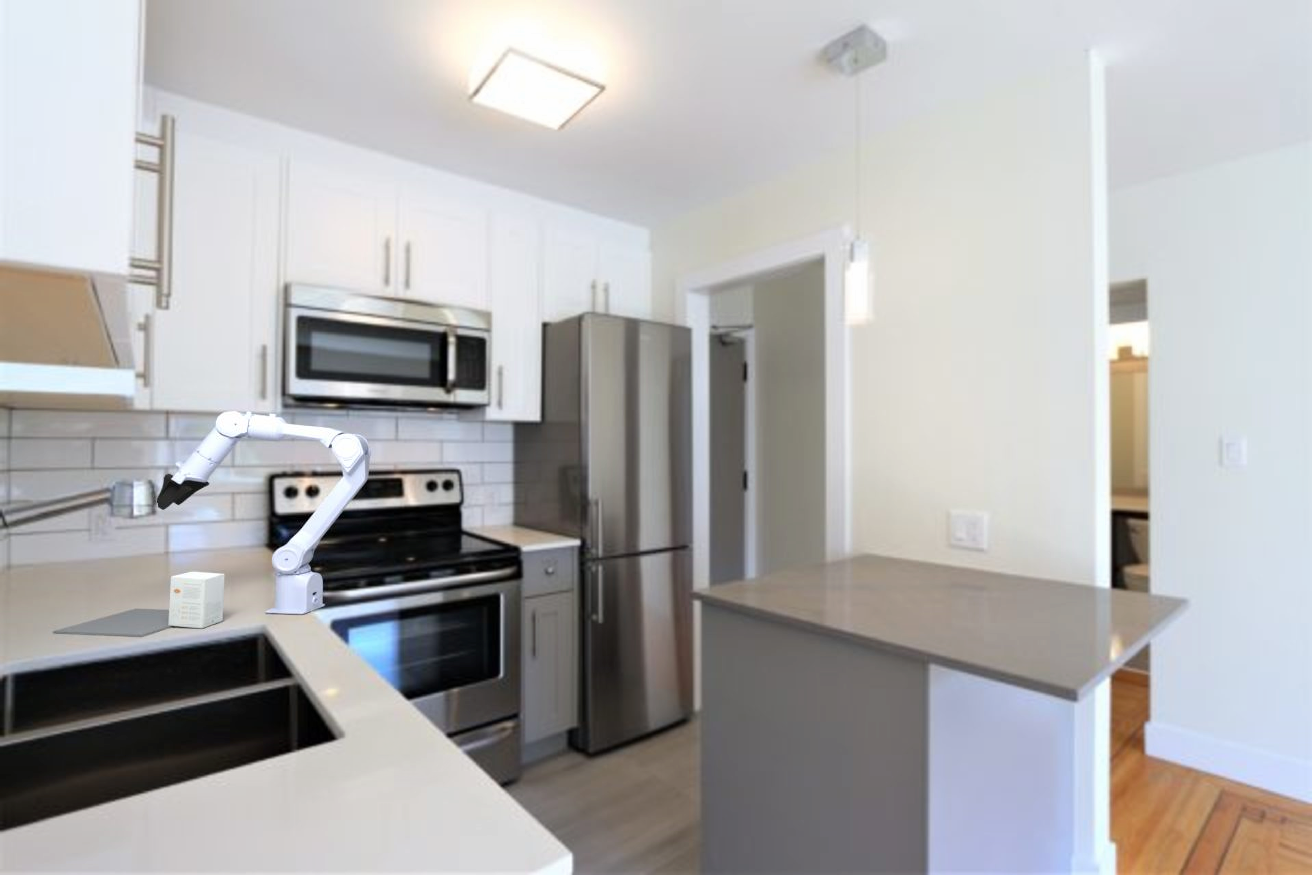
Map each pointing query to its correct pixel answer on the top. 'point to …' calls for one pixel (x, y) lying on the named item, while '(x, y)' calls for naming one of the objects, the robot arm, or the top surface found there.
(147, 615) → the mat
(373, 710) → the top surface
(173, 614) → the small box
